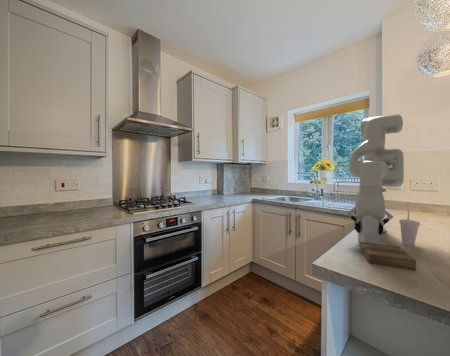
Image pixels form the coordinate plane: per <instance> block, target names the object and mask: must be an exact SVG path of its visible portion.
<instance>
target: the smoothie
mask: <svg viewBox="0 0 450 356" xmlns="http://www.w3.org/2000/svg"><path fill="white" fill-rule="evenodd" d="M406 218H407V219H404V218H402V219H399V222H398V223H399V227H400V233H401V235H400V236H401V242H402V245H404V246H407V245H408V247H415V244H416V240H417V235H418V231H419V227H420V226H421V222H419V221H416V220H412V219H410V210H407V217H406Z"/></svg>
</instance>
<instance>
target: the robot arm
mask: <svg viewBox="0 0 450 356" xmlns="http://www.w3.org/2000/svg"><path fill="white" fill-rule="evenodd" d="M403 126H404V120H403V117H402V115H400V114H398V113H397V114H389V115H387V114H386V115H378V116H371V117H368V118H363V120H361V122H360V134H361V137H362V139H363V140H362V143H361V144H360V145H359V146H357V147H356V148H355V149H354V151H352V153H351V156H350V160H349V164H348V165H349V168H348V172H349V175H350V176H351V177H353V178H359V187H358V189H359V190H358V192H357V193H356V195H355V200H354V206H353V207H352V209H350V210H348V211H347V212H346V214H347V215H348V217H349V218H350V219H351V220H352V221H353V222H354V230H355V231H356V233H357V234H358V233H360V223H359V221H360V220H361V218H363V216H364V215H370V216H372V217H373V218H375V219H378V220H379V236H382V234H383V233H385V232H386V231H387V228H386V227H384V226H385V225H386V224H387V223H389V222H390V221H391V220H392V219H393V218H394V216H393V215H392V214H391V213H390V212H389V211H387V210H386V203H385V197H384V194H383V193H386V192H387V188H399V187H402V185H403V184H404V179H405V178H404V177H405V175H404V174H405V172H404V171H405V170H404V169H405V166H404V165H405V159H404V157H405V156H404V153H403V150H401V149H400V148H386V146H385V145H386V135H387V134H398V133H400V132H401V131H402V129H403ZM361 157H364V158H363V159H364V160H359V159H361ZM384 187H385V188H384ZM353 214H354V215H355V216H354V215H353Z"/></svg>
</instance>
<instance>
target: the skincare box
mask: <svg viewBox="0 0 450 356" xmlns="http://www.w3.org/2000/svg"><path fill="white" fill-rule="evenodd" d="M359 223H360V233H357V238H358V239H357V241H359V243H360V242H365V243H373V244H379V241H380V240H379V237H380V235H379V220H378V219H375V218H373V217H372V216H370V215H364V216H363V218H361V220H360V221H359Z"/></svg>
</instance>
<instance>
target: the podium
mask: <svg viewBox="0 0 450 356" xmlns="http://www.w3.org/2000/svg"><path fill="white" fill-rule="evenodd" d="M359 243H360V245H359V251H361V253H362V255H363V256H364V258H365V259H366V260H367V262H368V263H369V264H372V265H379V266H385V267H392V268H399V269H406V270H413V271H416V268H417V260H416V259H415V258H413V257H412V256H411V255H410V254H409V253H407V252H406V251H405V250H404V249H403V248H402V247H400V246H397V245H389V244H388V245H387V244H380V243H378V244H373V243H365V242H360V241H359Z"/></svg>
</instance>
